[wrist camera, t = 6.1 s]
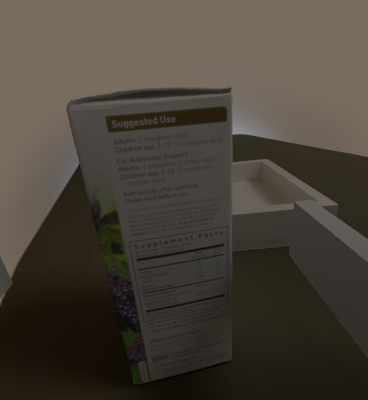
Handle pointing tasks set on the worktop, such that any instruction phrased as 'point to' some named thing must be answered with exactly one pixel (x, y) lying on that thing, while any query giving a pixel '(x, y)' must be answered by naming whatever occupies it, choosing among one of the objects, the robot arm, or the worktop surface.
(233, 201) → the bin
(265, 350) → the worktop surface
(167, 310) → the syrup box
